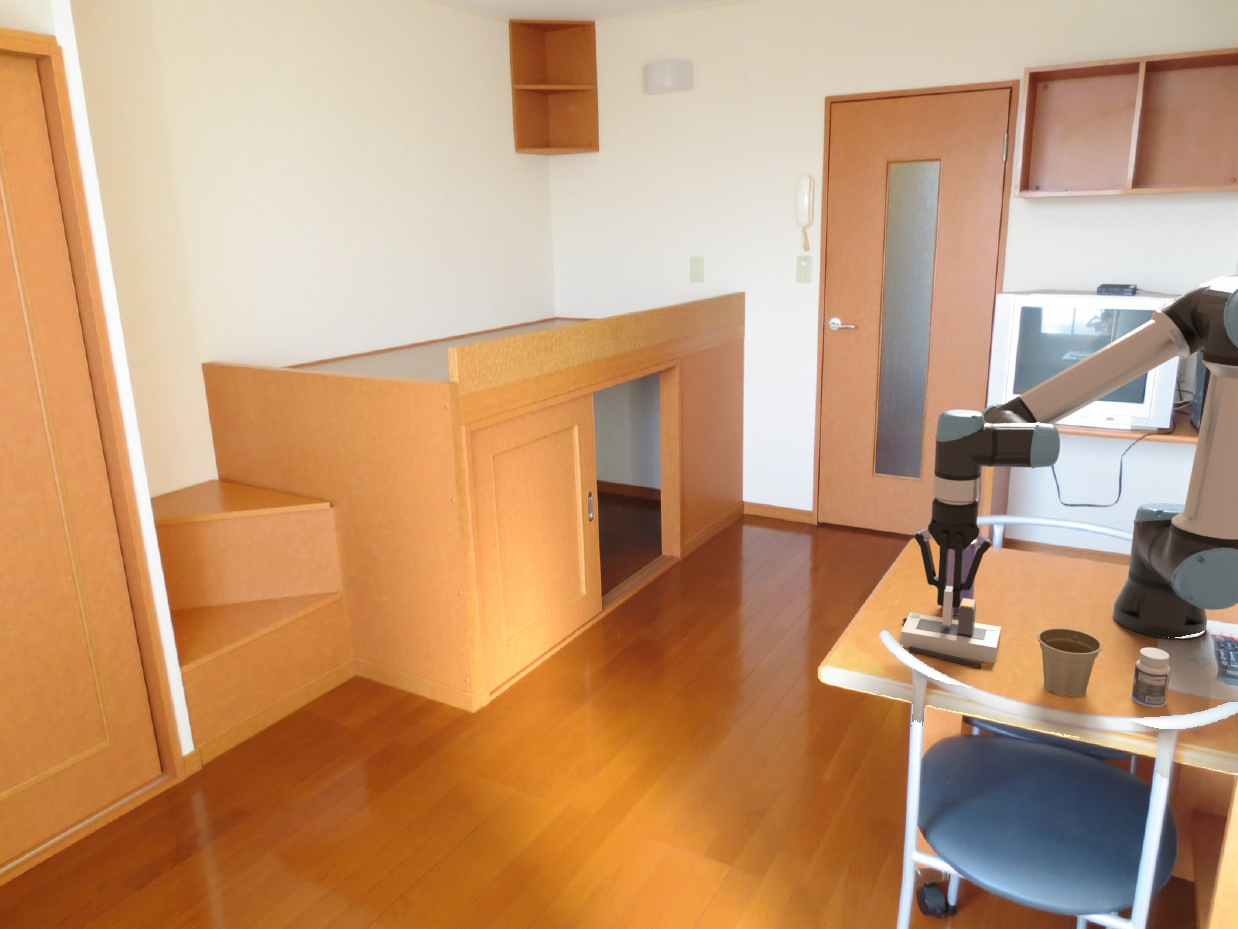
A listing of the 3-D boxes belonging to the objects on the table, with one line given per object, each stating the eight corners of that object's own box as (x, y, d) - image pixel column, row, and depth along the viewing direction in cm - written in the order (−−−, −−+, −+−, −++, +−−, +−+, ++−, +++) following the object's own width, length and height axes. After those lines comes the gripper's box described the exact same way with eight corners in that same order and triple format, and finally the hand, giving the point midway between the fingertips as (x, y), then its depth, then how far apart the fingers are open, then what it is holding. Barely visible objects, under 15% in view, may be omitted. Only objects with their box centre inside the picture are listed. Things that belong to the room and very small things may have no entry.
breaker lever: (974, 626, 161) (976, 599, 160) (971, 635, 158) (973, 607, 156) (960, 624, 162) (962, 597, 161) (957, 633, 159) (959, 605, 157)
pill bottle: (1138, 690, 144) (1144, 643, 142) (1170, 701, 141) (1177, 653, 138) (1126, 700, 141) (1132, 652, 139) (1158, 712, 138) (1165, 663, 136)
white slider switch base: (999, 642, 162) (1001, 626, 161) (994, 663, 154) (996, 647, 154) (909, 626, 169) (910, 612, 168) (900, 646, 162) (901, 631, 161)
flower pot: (1028, 693, 144) (1032, 645, 142) (1038, 669, 152) (1042, 623, 150) (1092, 708, 139) (1098, 659, 137) (1099, 683, 147) (1105, 635, 144)
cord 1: (981, 666, 153) (981, 661, 153) (980, 669, 153) (980, 663, 152) (908, 650, 160) (908, 645, 160) (906, 652, 159) (907, 647, 159)
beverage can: (974, 617, 172) (980, 544, 169) (942, 615, 174) (947, 543, 170) (969, 604, 178) (974, 534, 174) (938, 603, 179) (942, 533, 175)
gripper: (997, 496, 155) (988, 620, 161) (920, 489, 161) (914, 608, 167) (993, 508, 149) (983, 637, 155) (913, 500, 155) (906, 624, 161)
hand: (947, 622), depth 161 cm, fingers closed
